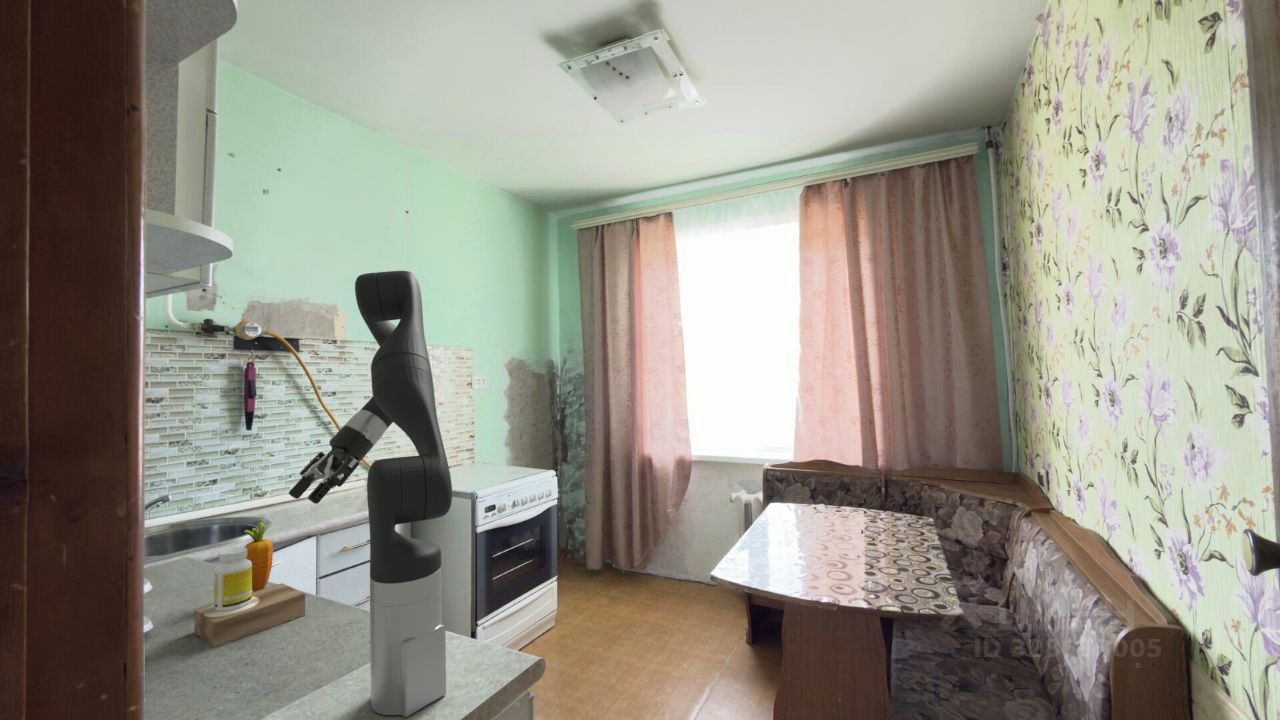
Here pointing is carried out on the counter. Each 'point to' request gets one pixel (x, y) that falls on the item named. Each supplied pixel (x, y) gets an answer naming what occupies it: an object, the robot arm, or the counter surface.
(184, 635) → the counter surface
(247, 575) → the supplement bottle
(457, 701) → the counter surface
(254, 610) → the walnut board
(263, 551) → the carrot
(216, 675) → the counter surface
